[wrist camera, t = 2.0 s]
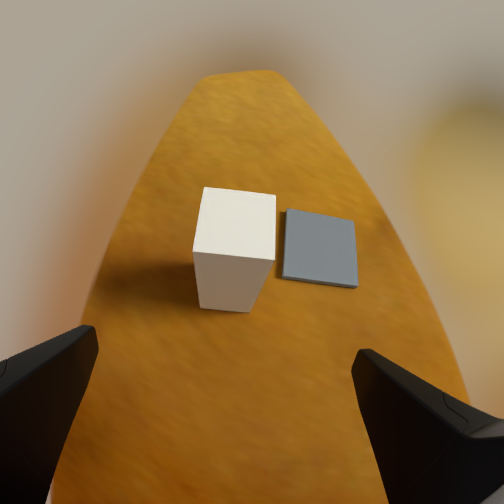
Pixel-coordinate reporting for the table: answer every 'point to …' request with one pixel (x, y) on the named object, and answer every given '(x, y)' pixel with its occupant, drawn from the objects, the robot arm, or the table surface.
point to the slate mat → (319, 249)
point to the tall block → (233, 247)
